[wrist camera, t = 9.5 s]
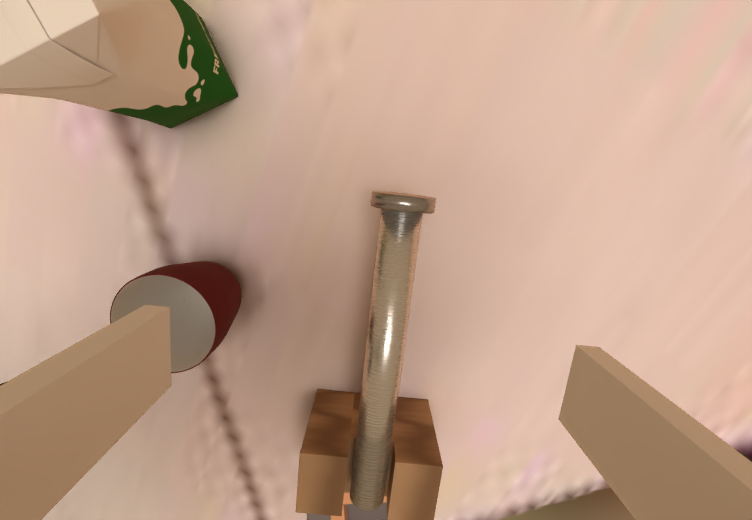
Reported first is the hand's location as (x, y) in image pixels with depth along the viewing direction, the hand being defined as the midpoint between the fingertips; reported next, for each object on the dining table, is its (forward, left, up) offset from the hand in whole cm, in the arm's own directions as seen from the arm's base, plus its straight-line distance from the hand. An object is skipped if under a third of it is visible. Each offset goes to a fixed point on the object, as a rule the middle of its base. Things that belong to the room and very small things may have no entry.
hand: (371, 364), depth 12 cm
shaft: (+2, -8, -18) cm, 20 cm away
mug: (-16, -7, -25) cm, 31 cm away
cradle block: (+2, -20, -25) cm, 32 cm away
